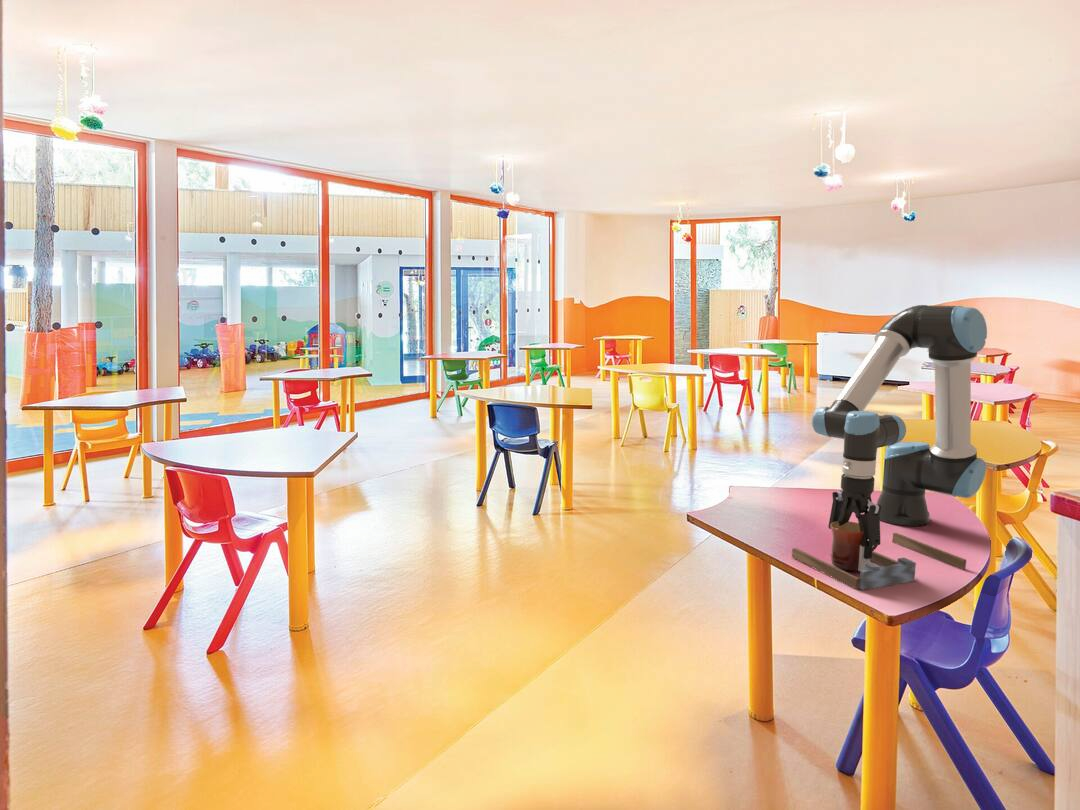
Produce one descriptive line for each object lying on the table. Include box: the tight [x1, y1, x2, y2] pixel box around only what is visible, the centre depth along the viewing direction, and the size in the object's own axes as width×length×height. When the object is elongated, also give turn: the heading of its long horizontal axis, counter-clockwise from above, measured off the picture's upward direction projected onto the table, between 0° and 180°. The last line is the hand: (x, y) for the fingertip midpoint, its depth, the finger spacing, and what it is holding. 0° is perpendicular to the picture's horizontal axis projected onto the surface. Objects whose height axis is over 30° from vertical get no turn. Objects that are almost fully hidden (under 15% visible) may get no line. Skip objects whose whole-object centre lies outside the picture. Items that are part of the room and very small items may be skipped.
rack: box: [791, 532, 967, 591], centre depth 196 cm, size 35×24×6 cm
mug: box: [830, 520, 879, 572], centre depth 193 cm, size 12×9×10 cm
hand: (851, 564), depth 194 cm, fingers closed on mug, 7 cm apart
